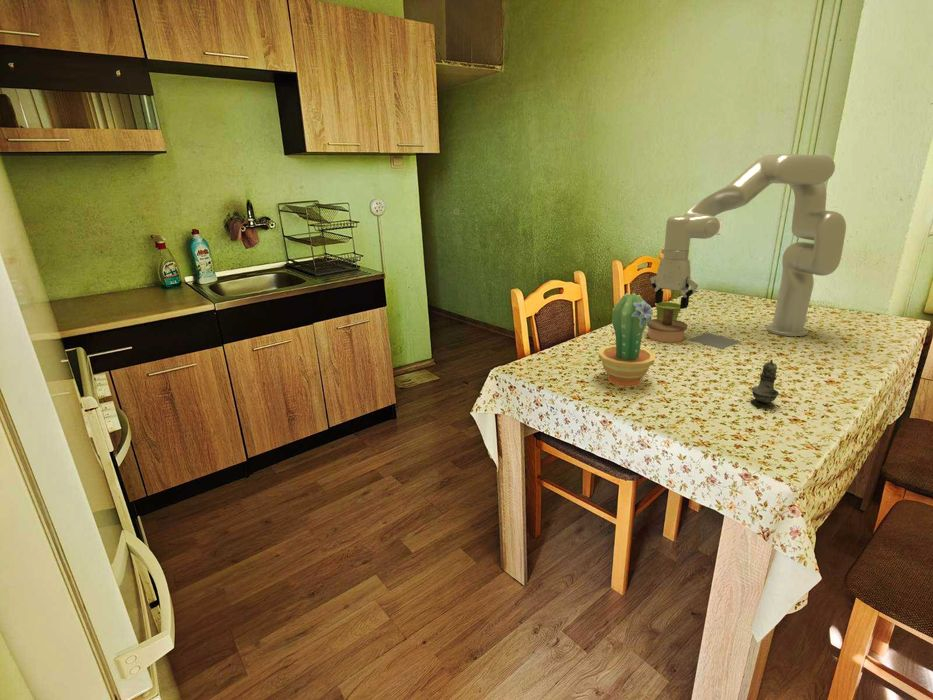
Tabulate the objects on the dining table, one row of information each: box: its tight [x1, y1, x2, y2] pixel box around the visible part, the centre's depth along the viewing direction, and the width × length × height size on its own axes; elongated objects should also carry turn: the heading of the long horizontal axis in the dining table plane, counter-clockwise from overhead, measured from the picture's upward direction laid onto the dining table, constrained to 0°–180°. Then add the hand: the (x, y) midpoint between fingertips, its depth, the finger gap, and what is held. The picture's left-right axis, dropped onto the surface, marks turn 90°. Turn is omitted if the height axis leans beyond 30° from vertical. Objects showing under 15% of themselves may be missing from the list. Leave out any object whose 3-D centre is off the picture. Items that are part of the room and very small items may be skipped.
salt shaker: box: [750, 359, 780, 410], centre depth 119 cm, size 6×6×12 cm
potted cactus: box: [597, 292, 656, 388], centre depth 133 cm, size 15×15×25 cm
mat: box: [687, 332, 742, 350], centre depth 164 cm, size 12×12×1 cm
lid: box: [646, 309, 688, 332], centre depth 166 cm, size 13×13×6 cm
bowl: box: [647, 327, 685, 343], centre depth 168 cm, size 11×11×5 cm
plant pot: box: [654, 301, 682, 320], centre depth 181 cm, size 9×9×9 cm
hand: (670, 305), depth 164 cm, fingers open, 9 cm apart
